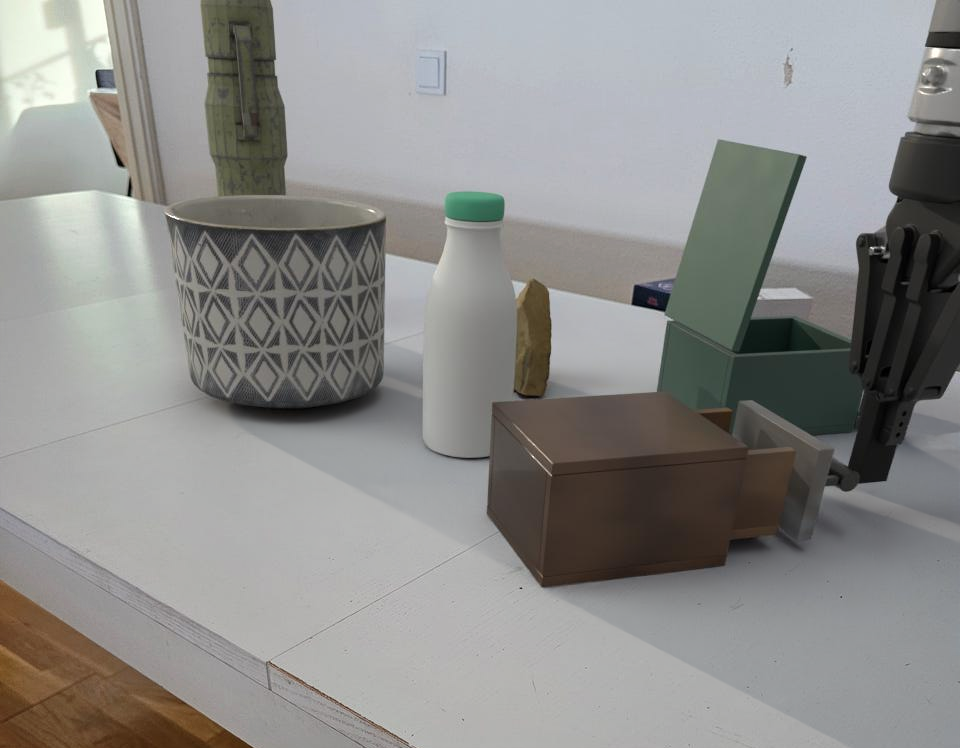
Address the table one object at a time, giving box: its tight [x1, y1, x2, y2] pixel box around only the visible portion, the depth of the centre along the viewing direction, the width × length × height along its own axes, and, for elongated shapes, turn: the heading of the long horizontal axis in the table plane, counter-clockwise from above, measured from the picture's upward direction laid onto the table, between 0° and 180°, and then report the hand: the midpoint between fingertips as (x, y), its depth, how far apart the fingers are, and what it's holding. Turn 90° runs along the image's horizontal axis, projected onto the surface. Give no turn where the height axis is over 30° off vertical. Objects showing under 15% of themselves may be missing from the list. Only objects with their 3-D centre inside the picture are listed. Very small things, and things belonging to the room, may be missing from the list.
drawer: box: [694, 400, 860, 542], centre depth 67 cm, size 17×10×7 cm, turn 108°
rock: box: [514, 278, 553, 397], centre depth 95 cm, size 11×9×10 cm
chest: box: [656, 315, 869, 436], centre depth 90 cm, size 15×13×8 cm
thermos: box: [199, 0, 289, 197], centre depth 108 cm, size 9×12×35 cm
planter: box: [164, 194, 387, 410], centre depth 87 cm, size 19×19×16 cm
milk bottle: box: [422, 190, 517, 459], centre depth 76 cm, size 8×8×20 cm
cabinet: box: [486, 391, 749, 588], centre depth 65 cm, size 14×12×9 cm
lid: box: [664, 138, 807, 352], centre depth 82 cm, size 15×13×1 cm
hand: (865, 478), depth 72 cm, fingers closed
